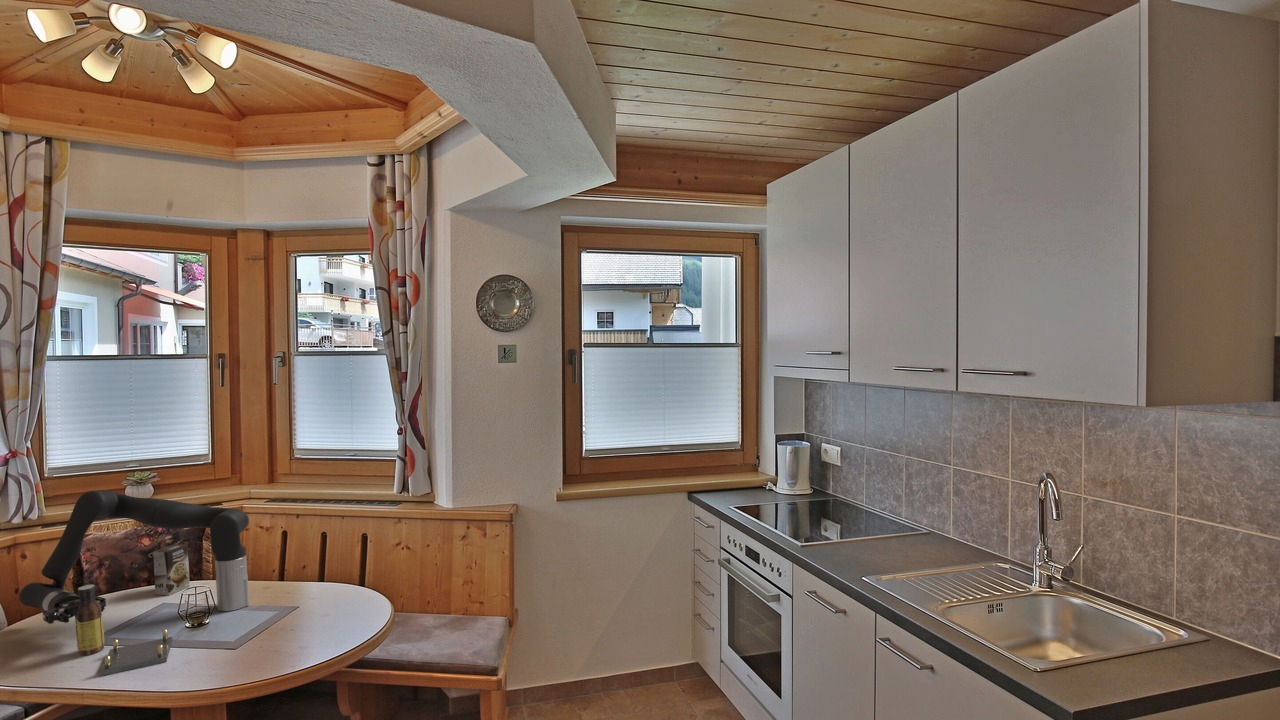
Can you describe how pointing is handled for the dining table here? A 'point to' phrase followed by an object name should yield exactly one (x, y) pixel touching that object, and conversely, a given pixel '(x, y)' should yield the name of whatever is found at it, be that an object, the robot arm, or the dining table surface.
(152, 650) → the standoff plate
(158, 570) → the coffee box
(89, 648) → the sauce bottle
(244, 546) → the robot arm
